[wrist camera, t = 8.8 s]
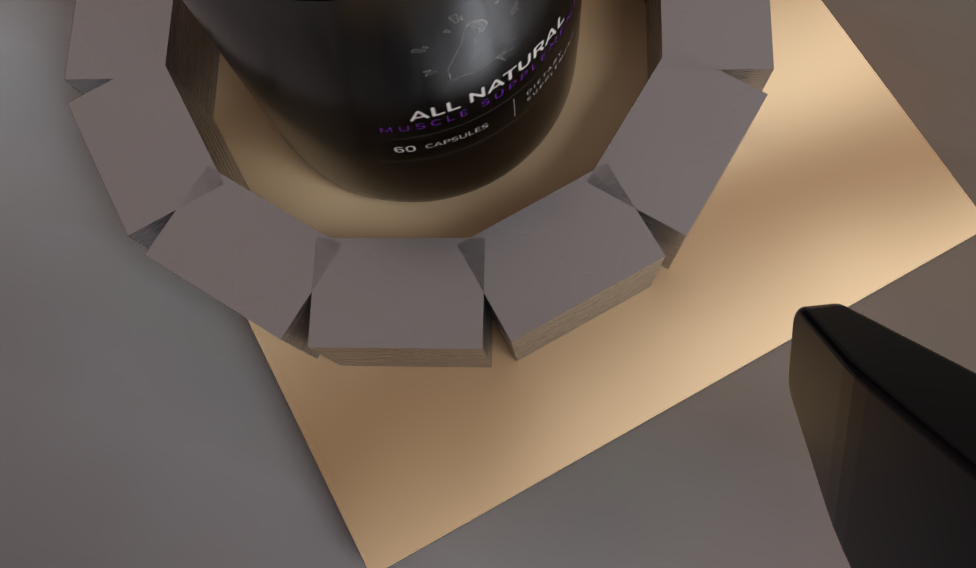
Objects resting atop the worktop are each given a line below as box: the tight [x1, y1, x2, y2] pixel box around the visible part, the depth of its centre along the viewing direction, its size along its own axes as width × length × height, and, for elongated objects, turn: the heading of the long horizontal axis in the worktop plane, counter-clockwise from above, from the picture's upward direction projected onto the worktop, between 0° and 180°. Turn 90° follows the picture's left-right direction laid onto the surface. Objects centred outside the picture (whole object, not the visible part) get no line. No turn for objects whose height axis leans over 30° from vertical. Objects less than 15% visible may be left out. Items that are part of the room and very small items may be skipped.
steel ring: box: [64, 0, 774, 368], centre depth 17 cm, size 14×14×2 cm
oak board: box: [214, 0, 976, 568], centre depth 19 cm, size 18×14×1 cm
